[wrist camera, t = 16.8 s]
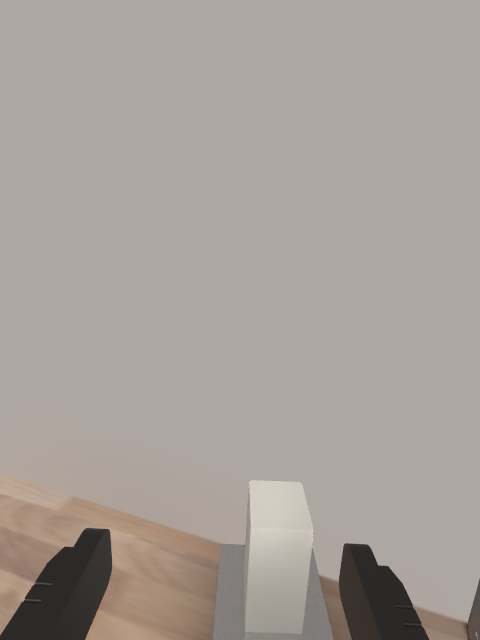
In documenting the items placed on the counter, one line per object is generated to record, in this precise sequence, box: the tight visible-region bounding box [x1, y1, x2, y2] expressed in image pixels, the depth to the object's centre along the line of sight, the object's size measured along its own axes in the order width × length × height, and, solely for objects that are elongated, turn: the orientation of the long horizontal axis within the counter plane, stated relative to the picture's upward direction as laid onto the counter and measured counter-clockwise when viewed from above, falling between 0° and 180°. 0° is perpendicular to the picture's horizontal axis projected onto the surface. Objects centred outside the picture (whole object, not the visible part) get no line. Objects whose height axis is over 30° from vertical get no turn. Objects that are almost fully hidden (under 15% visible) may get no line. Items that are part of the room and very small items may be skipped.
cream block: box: [244, 480, 314, 634], centre depth 27 cm, size 5×5×11 cm
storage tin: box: [213, 544, 334, 640], centre depth 29 cm, size 10×10×10 cm
